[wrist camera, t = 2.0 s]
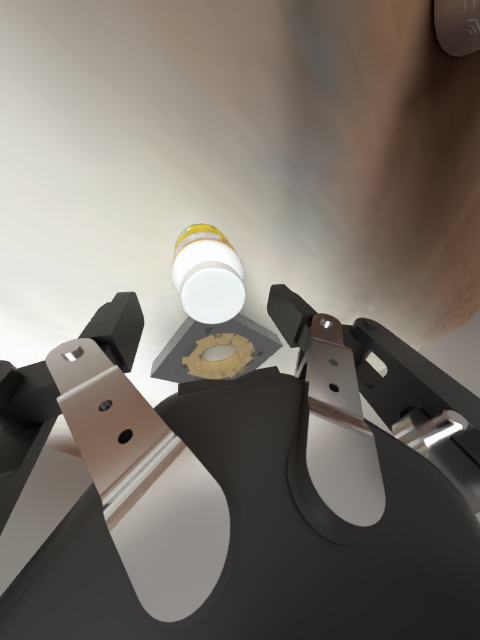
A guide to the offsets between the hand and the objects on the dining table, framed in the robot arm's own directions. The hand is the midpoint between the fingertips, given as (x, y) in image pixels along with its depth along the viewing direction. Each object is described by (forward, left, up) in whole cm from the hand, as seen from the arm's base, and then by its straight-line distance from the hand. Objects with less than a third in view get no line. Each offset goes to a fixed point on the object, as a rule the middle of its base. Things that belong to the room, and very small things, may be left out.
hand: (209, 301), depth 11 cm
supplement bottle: (0, 0, -10) cm, 10 cm away
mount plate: (+11, +10, -10) cm, 17 cm away
